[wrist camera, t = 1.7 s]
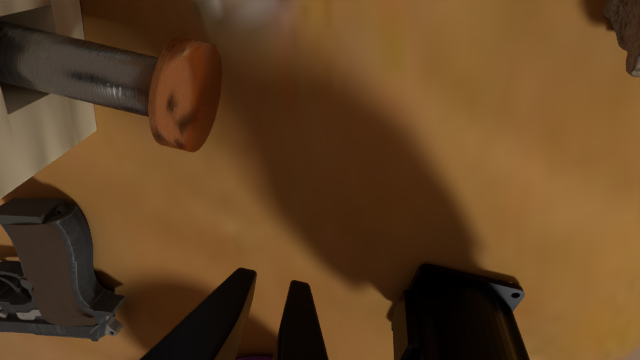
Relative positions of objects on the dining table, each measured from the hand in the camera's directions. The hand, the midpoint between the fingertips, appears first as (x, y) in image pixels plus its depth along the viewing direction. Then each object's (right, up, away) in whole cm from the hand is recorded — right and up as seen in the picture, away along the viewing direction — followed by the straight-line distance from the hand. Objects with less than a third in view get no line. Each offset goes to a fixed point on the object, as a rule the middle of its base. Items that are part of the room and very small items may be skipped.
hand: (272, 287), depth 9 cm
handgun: (-22, -4, +21) cm, 31 cm away
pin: (-9, +8, +9) cm, 15 cm away
